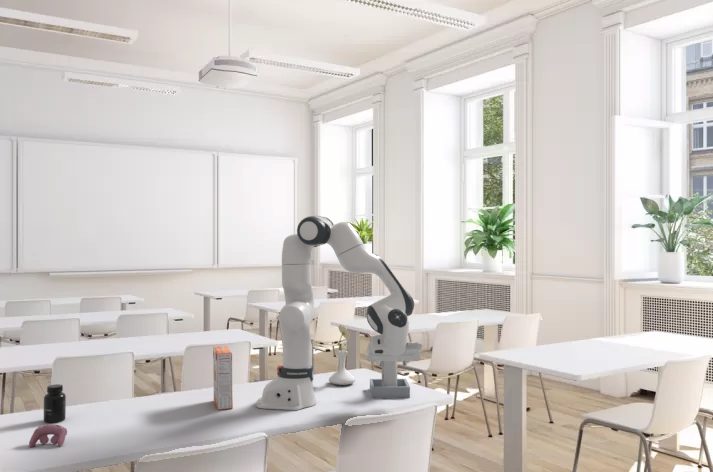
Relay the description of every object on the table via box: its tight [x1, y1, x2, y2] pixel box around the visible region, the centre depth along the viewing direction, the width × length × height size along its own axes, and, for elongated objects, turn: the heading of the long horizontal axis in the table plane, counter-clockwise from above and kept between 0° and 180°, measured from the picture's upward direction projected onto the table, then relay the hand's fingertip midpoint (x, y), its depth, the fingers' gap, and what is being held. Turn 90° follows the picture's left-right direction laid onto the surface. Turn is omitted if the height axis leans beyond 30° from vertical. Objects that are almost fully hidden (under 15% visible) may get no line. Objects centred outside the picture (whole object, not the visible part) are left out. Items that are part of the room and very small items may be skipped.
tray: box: [369, 378, 411, 399], centre depth 250 cm, size 15×14×4 cm
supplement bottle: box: [43, 384, 67, 424], centre depth 213 cm, size 7×7×12 cm
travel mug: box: [381, 361, 398, 387], centre depth 249 cm, size 6×7×20 cm
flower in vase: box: [328, 324, 356, 386], centre depth 266 cm, size 13×11×25 cm
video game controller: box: [28, 423, 68, 448], centre depth 189 cm, size 10×5×7 cm, turn 92°
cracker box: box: [212, 345, 234, 411], centre depth 233 cm, size 14×6×21 cm, turn 18°
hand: (392, 364), depth 238 cm, fingers open, 8 cm apart
